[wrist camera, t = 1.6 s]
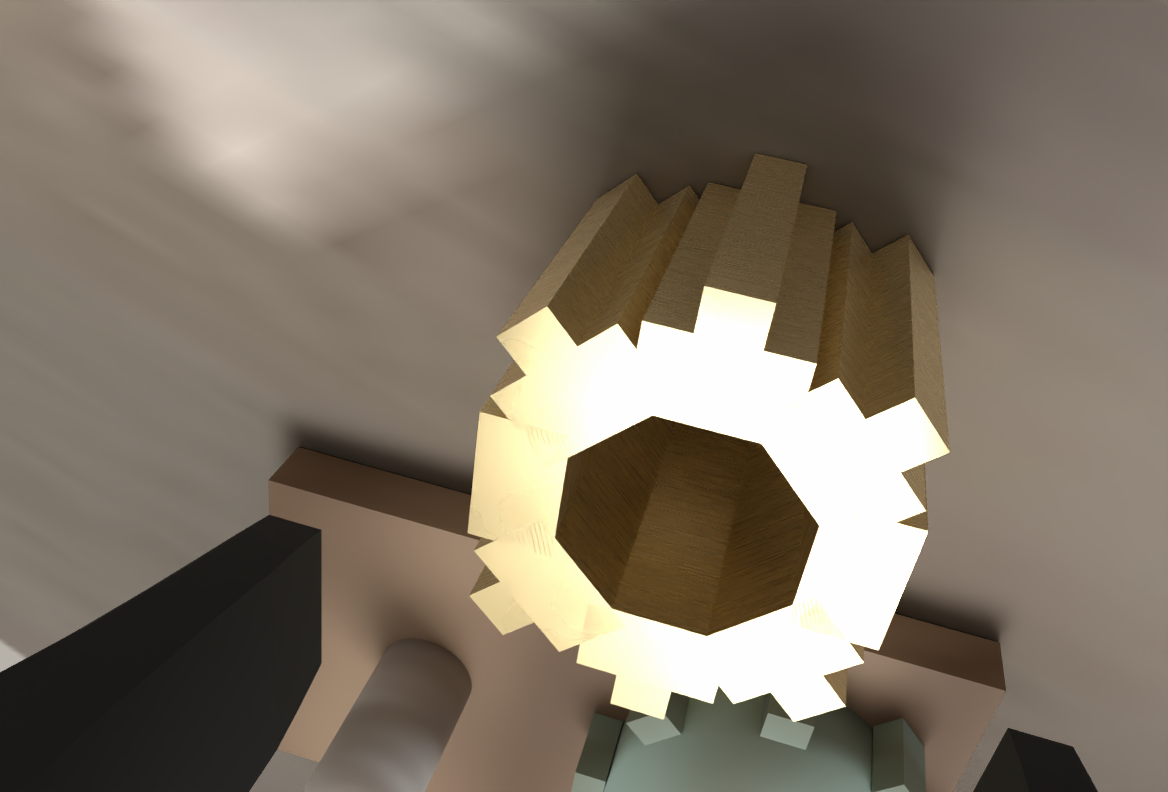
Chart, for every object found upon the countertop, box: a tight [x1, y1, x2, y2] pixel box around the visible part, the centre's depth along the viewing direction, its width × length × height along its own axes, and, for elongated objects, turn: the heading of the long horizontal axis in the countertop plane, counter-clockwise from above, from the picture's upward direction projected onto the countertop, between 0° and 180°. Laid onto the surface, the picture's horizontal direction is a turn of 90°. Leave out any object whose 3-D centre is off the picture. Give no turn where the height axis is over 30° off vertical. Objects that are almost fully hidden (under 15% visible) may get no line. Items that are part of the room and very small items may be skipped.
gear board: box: [268, 447, 1006, 792], centre depth 20 cm, size 14×8×5 cm, turn 82°
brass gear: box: [468, 153, 950, 722], centre depth 15 cm, size 6×7×5 cm
